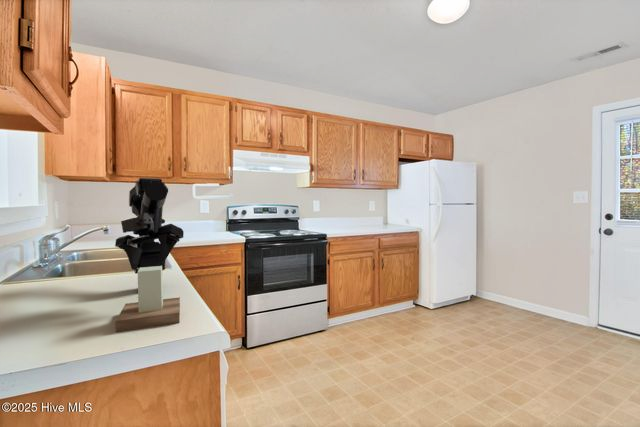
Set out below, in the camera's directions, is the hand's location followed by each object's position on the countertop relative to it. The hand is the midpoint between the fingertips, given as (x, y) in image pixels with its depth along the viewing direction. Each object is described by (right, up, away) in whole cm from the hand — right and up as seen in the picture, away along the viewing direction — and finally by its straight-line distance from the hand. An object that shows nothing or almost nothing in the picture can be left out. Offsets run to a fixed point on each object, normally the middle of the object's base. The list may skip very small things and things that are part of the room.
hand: (147, 266), depth 86 cm
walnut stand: (+6, -12, -8) cm, 15 cm away
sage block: (+6, -9, -9) cm, 14 cm away
